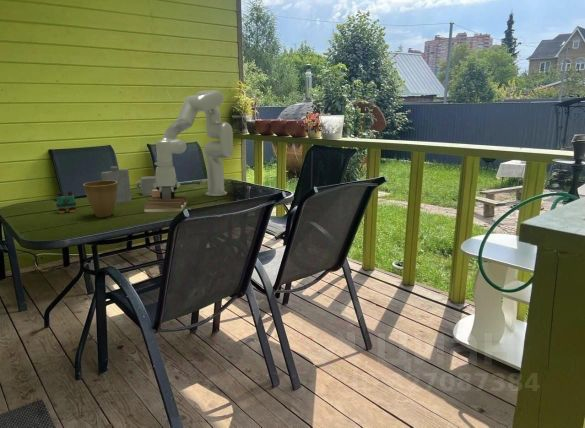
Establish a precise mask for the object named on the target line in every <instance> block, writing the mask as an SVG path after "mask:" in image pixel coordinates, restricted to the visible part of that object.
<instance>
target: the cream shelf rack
mask: <svg viewBox="0 0 585 428" xmlns="http://www.w3.org/2000/svg"><path fill="white" fill-rule="evenodd" d="M187 198H188V196H187V195H175V197H174V199H161V198H160V196H155V197H152V196H151V199H147V202H144V203H143V209H144V213H169V212H170V213H172V212H173V213H174V212H182V211H183V210H184V209H185V208H186V207H187V205H188V199H187Z"/></svg>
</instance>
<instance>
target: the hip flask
mask: <svg viewBox="0 0 585 428" xmlns="http://www.w3.org/2000/svg"><path fill="white" fill-rule="evenodd" d="M109 167H110V171H109V170H108V171H102V172H100V176H101V181H106V180H111V181H117V194H116V202H115V205H117V204H120V203H125V202H132V195H131V184H130V173H129V172H130V171H129V169H128V168H127V169H122V168H121V169H118V166H117V165H116V166H113V165H112V166H109Z"/></svg>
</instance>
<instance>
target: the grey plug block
mask: <svg viewBox="0 0 585 428" xmlns="http://www.w3.org/2000/svg"><path fill="white" fill-rule="evenodd" d="M171 191H172V190H171V187H162V199H171Z"/></svg>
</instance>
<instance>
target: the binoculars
mask: <svg viewBox="0 0 585 428" xmlns="http://www.w3.org/2000/svg"><path fill="white" fill-rule="evenodd" d="M76 206H77V202H76V200H75V195H74V194H73V190H71V191H68V192H67V195H66V196H64V195H63V192H60V191H59V192H58V191H57V196H56V208H57V209H58V213H59V214H65V213H66V211H67V210H66V209H68V212H69V213H75V212H76V209H77V207H76Z"/></svg>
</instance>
